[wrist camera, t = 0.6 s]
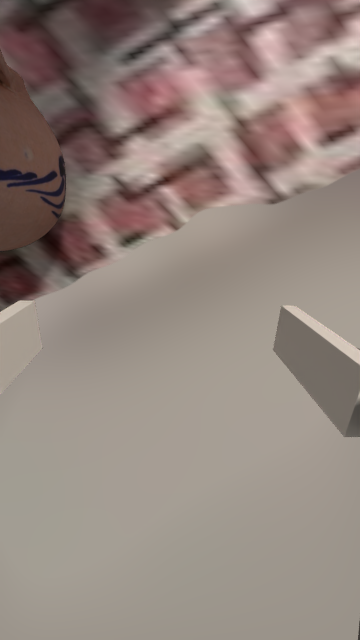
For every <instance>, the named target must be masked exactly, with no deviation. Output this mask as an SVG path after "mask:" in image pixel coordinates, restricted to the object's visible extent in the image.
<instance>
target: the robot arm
mask: <svg viewBox="0 0 360 640" xmlns="http://www.w3.org/2000/svg"><path fill="white" fill-rule="evenodd" d="M41 350H42V341H41V336H40V329H39V323H38V318H37V311H36V305H35V301H18V302H16V303H14V304H13V305H11V306H9V307H8V308H6V309H4V310H3V311H1V312H0V395H1V394H2V393H3V392H4V391H5V389H6V388H7V387H8V386H9V385H10V384H11V383H12V382H13V381H14V379H15V378H16V377H17V376H18V375H19V374H20V373H21V372H22V371H23V370H24V368H25V367H26V366H27V365H28V364H29V363H30V362H31V361H32V360H33V359H34V357H35V356H36V355H37V354H38V353H39V352H40V351H41ZM273 350H274V352H275V353H276V354H277V355H278V357H279V358H280V359H281V360H282V362H283V363H284V364H285V365H286V366H287V368H288V369H289V370H290V371H291V373H293V375H294V376H295V377H296V379H297V380H298V381H299V382H300V384H301V385H302V386H303V387H304V388H305V389H306V391H307V392H308V393H309V394H310V396H311V397H312V398H313V399H314V400H315V402H316V403H317V404H318V406H319V407H320V408H321V409H322V410H323V412H324V413H325V414H326V415H327V416H328V418H329V419H330V420H331V421H332V422H333V424H334V425H335V426H336V427H337V429H338V430H339V431H340V432H341V434H342V435H343V436H344V437H360V349H358V348H356V347H354V346H353V345H351V344H350V343H348V342H347V341H346V340H344V339H343V338H341V337H340V336H338V335H337V334H335V333H334V332H332V331H331V330H329V329H328V328H326V327H325V326H323V325H322V324H321V323H319V322H318V321H316V320H315V319H313V318H312V317H310V316H309V315H308V314H306V313H304V312H303V311H302V310H300V309H299V308H297V307H296V306H281V310H280V316H279V321H278V326H277V332H276V337H275V343H274V348H273ZM358 640H360V623H359V635H358Z"/></svg>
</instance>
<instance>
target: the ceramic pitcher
mask: <svg viewBox="0 0 360 640" xmlns="http://www.w3.org/2000/svg"><path fill="white" fill-rule="evenodd" d="M65 191H66V174H65V162H64V159H63V155H62V152H61V149H60V147H59V144H58V141H57V139H56V137H55V135H54V133H53V132H52V130H51V128H50V127H49V125H48V123H47V121H46V120H45V118H44V117H43V115H42V114H41V113H40V111H39V110H38V109H37V107H36V106H35V105H34V103H33V102H32V100H31V99H30V96H29V94H28V92H27V90H26V88H25V85H24V81H23V79H22V78H21V77H20V76H19V74H18V73H17V72H15V71H14V70H13V69H11V68H10V67H9V66H8V65H7V64H6V62H5V60H4V57H3V55H2V52H1V50H0V252H1V251H7V250H12V249H17V248H20V247H23V246H26V245H28V244H31V243H33V242H35V241H36V240H38V239H40V238H41V237H42V236H44V235H45V234H46V233H47V232H48V231H49V230H50V229H51V228H52V227H53V226H54V225H55V223H56V222H57V220H58V218H59V217H60V215H61V212H62V209H63V206H64V202H65Z"/></svg>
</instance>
